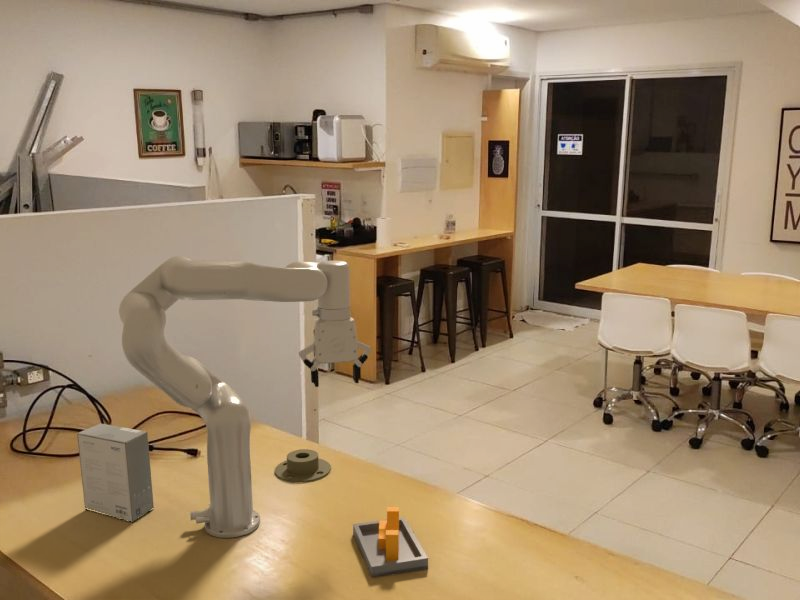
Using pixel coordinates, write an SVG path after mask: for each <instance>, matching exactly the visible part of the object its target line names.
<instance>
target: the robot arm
mask: <svg viewBox="0 0 800 600" xmlns="http://www.w3.org/2000/svg"><path fill="white" fill-rule="evenodd" d="M350 273H351V270H350V265H349V263H347V262H346V261H343V260H336V259H334V260H324V261H321V262H320V261H319V262H318V261H317V262H312V261H294V262H291V263H289V264H287V265H286V266H284V267H278V266H277V267H276V266H267V265H262V264H258V263H255V262H252V261H247V260H200V259H199V260H197V259H196V260H193V259H191V258H188V257H185V256H183V255H182V256H180V255H177V256H174V257H173V256H172V257H171V258H168V259H167V260H165V261H164V262H162V264H160V265H159V266H158V267H156V268H155V269H154V270H153V271H152V272H151V273H150V274H149V275H148V276H146V277H145V278H144V279H143V280H141V281H140V282H139V283H137V285H136V286H135V287H133V288H132V289H131V290H130V291H129V292H128V293H127V294H125V296H124V297H123V298H122V299H121V302H120V304H119V309H118V314H119V317H120V321H121V322H122V324H123V325H122V326H123V328H122V335H121V346H122V350H123V354H124V356H125V358H126V360H127V361H128V364H129V365H130V366H131V367H133V368H134V369H135V370H136V371H137V372H138V373H140V375H142V376H144V378H146V379H147V380H148V381H149V382H151V383H152V384H153V385H154V387H155V386H156V387H157V388H158V389H159V390H160V391H162V392H163V393H164V394H165V395H166V396H168V397H169V398H170V399H171V400H172V401H173V402H175V403H176V404H177V405H179V406H180V407H181V406H182V407H183V408H187V409H191V410H192V411H194V412H195V413H197V414H198V416H200V417H201V418H202V420H203V422H204V424H205V426H206V431H207V432H206V435H207V437H206V438H207V439H206V460H207V462H206V463H207V475H208V491H209V504H208V508H204V510H195V511H194V510H193V511H190V514H189V515H190V521H195V523H196V524H202V523H203V524H204V530H205V531H206V533H207V534H209V535H210V536H213V537H217V538H221V539H222V538H223V539H225V538H226V539H227V538H229V539H230V538H238V537H241V536H245V535H248V534H250V533H252V532H254V531H255V530H256V529H257V528H258V527H259V526H260V524H261V516H260V514H259V512H257V511H256V510H254V509H253V508H254V507H253V503H254V502H253V487H252V486H253V484H252V465H251V449H250V448H251V447H250V445H251V443H250V441H251V439H250V438H251V429H252V425H251V424H252V418H251V413H250V409H249V408H248V405H247V403H245V401H244V400H243V398H242V397H240V395H239V394H238V393H237V392H236V391H235V390H234V389H233V388H232V387H231V386H230V385H229V384H227V383H226V382H225V381H224V380H223V379H221V378H220V377H219V376H218V375H216V374H215V373H214V372H213V371H212V370H210V369H209V368H208V367H207V366H205V365H204V364H203V363H201V361H199V360H198V359H196V358H194V357H192V356H189V355H184V354H182V353H181V352H180V351H179V350H177V348H175V347H174V346H173V345H171V344H170V342H168V341H167V340H166V338H165V326H166V324H167V323H166V321H167V314H166V311H168V310H169V308H171V307H172V306H173V305H174V304H175V303H176V302H177V301H179V300H181V301H215V300H216V301H217V300H218V301H219V300H220V301H221V300H244V301H245V300H246V301H256V302H257V301H261V302H262V301H264V302H275V303H277V302H278V303H295V302H296V303H298V302H299V303H300V302H302V303H303V302H305V303H306V302H313V301H316V300H317V308H316V309H314V310H311V314H312V316H313V317H317V318H316V319H315V322H314V331H313V343H311V344H310V345H308V346H307V347H305V348H303V349H301V350H300V351H299V352H298V355H299V358H300V359H301V360H302V362H303V364H304V365H305V366H307V368H309V369H310V381H311V384H312V383H313V384H314V386H315V388H318V387H319V386H320V385H319V384H320V383H319V370H318V367H320V365H321V364H322V365H323V364H326V365H327V364H335V363H337V364H339V363H347V362H348V363H349V362H353V365H352V379H353V382H354V383H355V384H359V383H360V382H359V379H360V380H361V378H362V377H361V375H362V373H361V369H362V368H361V367H362V366H363V364H364V363H365V362H366V361H367V360H368V357H369V356H370V353H371V351H372V347H371V346H370V345H368V344H365V343H363V342H360V341H358V335H357V334H358V332H357V325H356V322H355V319H354V318H353V317H351V314H352V313H351V274H350ZM359 349H360V350H363V352H362V354H361V355H360V356H359ZM312 352H313V359H312V360H311V361H310V360H309V359H308V357H307V356H308V355H309V354H311V353H312Z"/></svg>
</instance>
